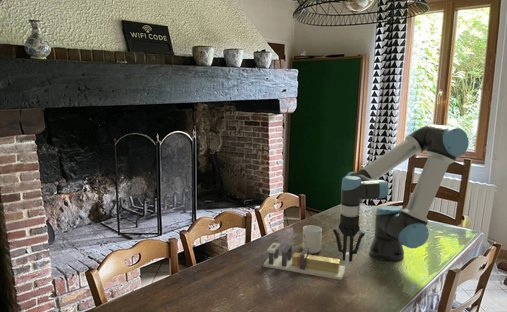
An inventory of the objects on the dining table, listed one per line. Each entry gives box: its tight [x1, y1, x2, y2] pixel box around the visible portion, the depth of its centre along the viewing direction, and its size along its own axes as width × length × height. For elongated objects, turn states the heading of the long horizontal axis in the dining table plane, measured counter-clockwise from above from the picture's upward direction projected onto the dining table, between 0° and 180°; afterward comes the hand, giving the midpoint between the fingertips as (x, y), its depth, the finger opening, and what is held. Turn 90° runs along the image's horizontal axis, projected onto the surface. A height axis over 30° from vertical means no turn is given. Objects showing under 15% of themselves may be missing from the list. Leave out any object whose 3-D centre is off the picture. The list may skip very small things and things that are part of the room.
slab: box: [263, 255, 346, 281], centre depth 170 cm, size 34×11×1 cm, turn 69°
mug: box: [302, 224, 323, 255], centre depth 189 cm, size 12×9×11 cm
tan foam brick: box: [291, 251, 341, 273], centre depth 168 cm, size 20×4×4 cm, turn 69°
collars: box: [266, 242, 310, 270], centre depth 172 cm, size 17×8×6 cm, turn 69°
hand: (347, 268), depth 164 cm, fingers closed
